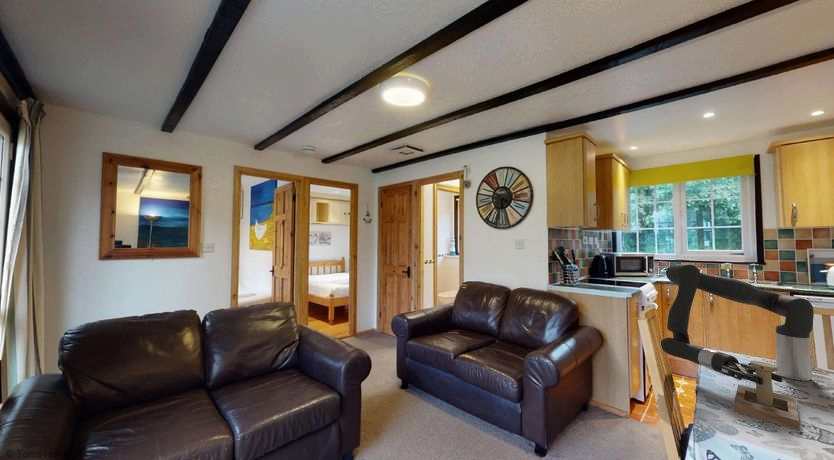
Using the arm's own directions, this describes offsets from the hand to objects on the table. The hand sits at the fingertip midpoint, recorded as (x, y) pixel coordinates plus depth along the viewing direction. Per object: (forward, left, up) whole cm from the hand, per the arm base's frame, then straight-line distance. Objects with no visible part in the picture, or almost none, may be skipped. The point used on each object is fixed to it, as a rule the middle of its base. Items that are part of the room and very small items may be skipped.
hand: (772, 380), depth 108 cm
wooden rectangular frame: (0, -2, -10) cm, 11 cm away
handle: (0, -2, -11) cm, 11 cm away
